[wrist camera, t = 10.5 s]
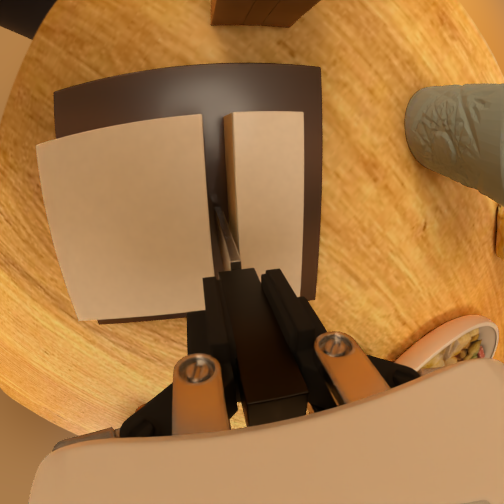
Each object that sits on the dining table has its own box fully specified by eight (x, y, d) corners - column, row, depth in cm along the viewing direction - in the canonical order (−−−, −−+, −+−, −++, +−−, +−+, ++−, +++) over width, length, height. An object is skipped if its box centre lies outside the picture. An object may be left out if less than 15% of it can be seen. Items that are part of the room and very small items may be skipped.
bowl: (309, 435, 39) (325, 474, 32) (436, 281, 31) (478, 314, 24) (409, 428, 49) (424, 452, 42) (497, 323, 41) (521, 344, 34)
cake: (67, 139, 17) (35, 144, 12) (200, 117, 18) (202, 113, 14) (95, 285, 22) (78, 321, 17) (212, 273, 23) (218, 309, 19)
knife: (206, 207, 21) (245, 395, 6) (229, 205, 21) (311, 381, 6) (209, 241, 22) (250, 444, 7) (231, 239, 22) (302, 433, 7)
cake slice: (223, 116, 19) (232, 111, 14) (279, 114, 19) (304, 111, 15) (232, 271, 24) (242, 306, 19) (280, 265, 24) (300, 297, 20)
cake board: (58, 92, 16) (53, 91, 15) (315, 69, 19) (320, 66, 18) (101, 318, 24) (98, 324, 23) (311, 294, 27) (315, 299, 27)
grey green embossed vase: (469, 113, 23) (557, 129, 12) (446, 192, 26) (533, 232, 15) (410, 62, 20) (514, 54, 9) (383, 155, 23) (490, 187, 12)
